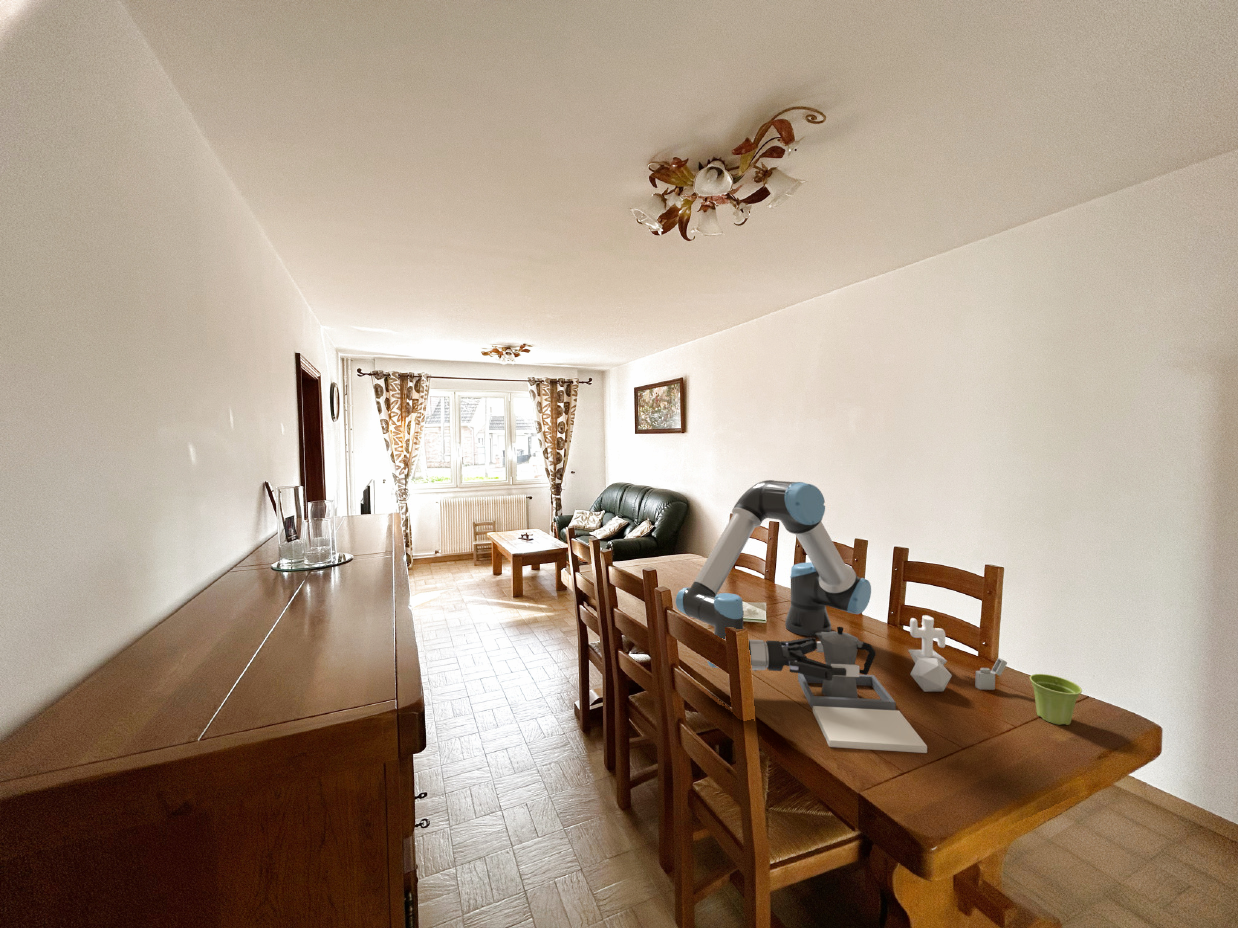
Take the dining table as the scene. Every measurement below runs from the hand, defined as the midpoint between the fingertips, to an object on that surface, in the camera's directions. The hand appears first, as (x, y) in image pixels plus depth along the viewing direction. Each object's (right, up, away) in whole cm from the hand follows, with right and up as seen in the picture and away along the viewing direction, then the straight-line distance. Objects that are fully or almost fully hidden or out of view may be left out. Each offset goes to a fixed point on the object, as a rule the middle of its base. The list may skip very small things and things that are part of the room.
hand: (850, 658), depth 130 cm
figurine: (+30, -9, +16) cm, 35 cm away
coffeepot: (-1, -10, +1) cm, 10 cm away
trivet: (-3, -11, -15) cm, 19 cm away
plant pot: (+44, -10, -11) cm, 46 cm away
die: (+23, -10, +4) cm, 25 cm away
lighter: (+39, -9, +4) cm, 41 cm away
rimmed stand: (-1, -10, +1) cm, 10 cm away
